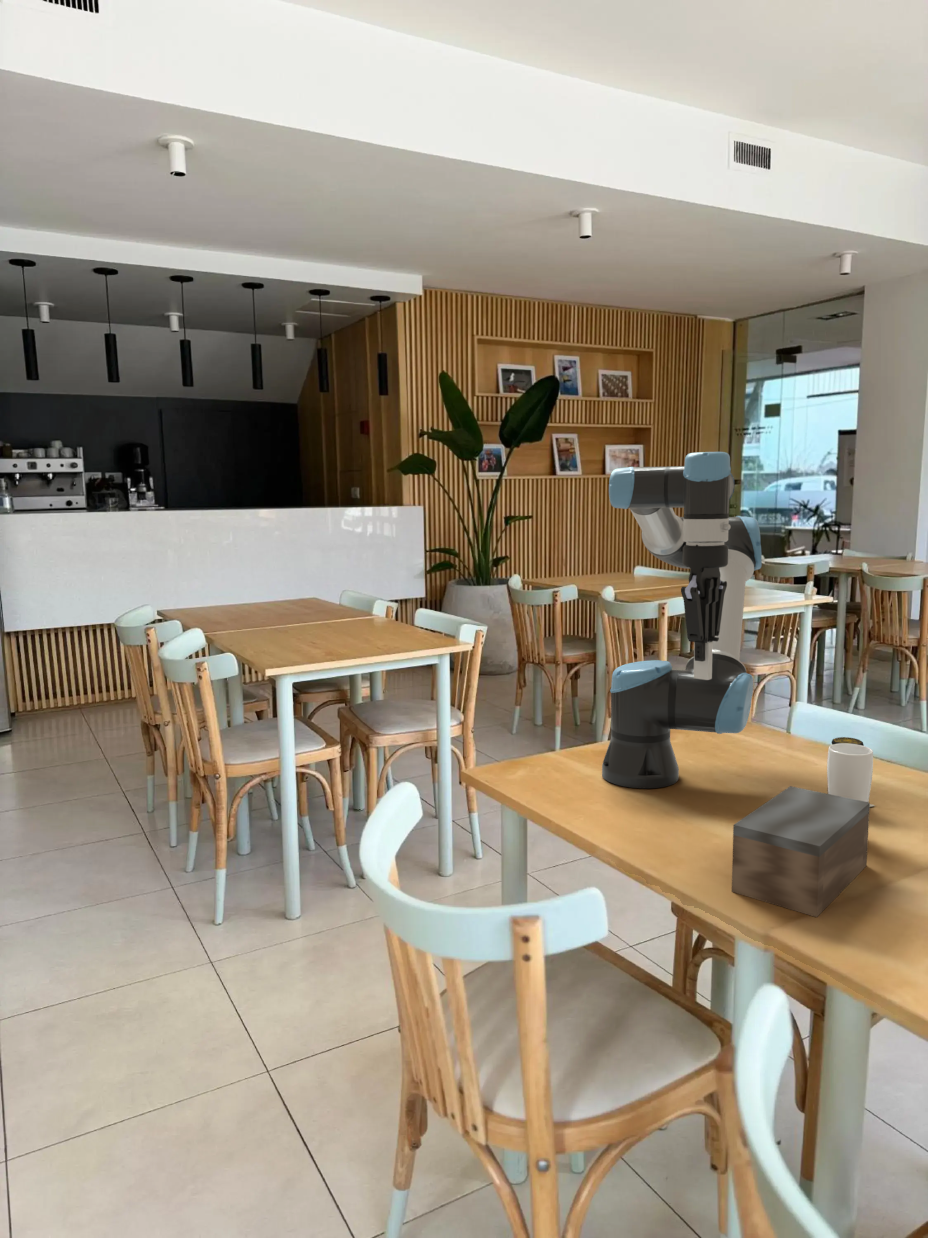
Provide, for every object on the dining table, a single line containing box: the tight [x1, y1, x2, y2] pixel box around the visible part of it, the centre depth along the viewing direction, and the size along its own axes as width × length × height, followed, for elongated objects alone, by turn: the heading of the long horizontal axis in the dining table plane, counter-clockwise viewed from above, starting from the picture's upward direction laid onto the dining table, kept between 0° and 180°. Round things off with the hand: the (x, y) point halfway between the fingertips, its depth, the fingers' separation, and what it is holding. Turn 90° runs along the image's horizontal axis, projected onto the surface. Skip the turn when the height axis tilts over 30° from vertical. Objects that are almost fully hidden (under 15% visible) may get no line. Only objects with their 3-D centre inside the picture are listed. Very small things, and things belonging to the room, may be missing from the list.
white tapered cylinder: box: [826, 743, 874, 803], centre depth 142 cm, size 7×7×15 cm
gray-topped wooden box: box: [731, 785, 871, 918], centre depth 128 cm, size 12×21×10 cm, turn 139°
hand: (702, 678), depth 152 cm, fingers closed
